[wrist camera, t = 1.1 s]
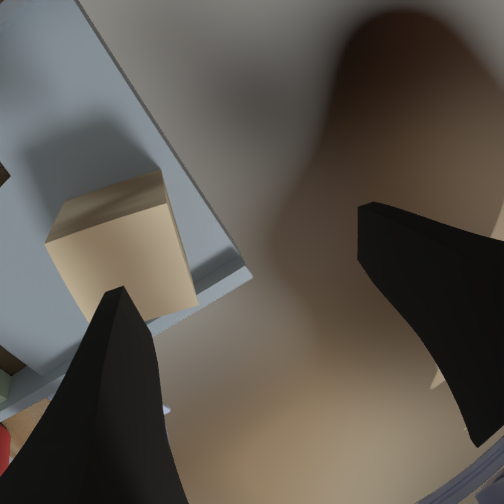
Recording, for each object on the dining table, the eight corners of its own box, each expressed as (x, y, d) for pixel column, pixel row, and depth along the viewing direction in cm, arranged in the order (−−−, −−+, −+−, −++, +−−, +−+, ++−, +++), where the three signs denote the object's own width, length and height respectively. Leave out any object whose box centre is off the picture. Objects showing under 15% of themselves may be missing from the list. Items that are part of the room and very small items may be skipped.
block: (161, 169, 14) (167, 203, 11) (186, 256, 17) (199, 305, 14) (64, 201, 13) (44, 243, 10) (100, 281, 16) (96, 334, 13)
